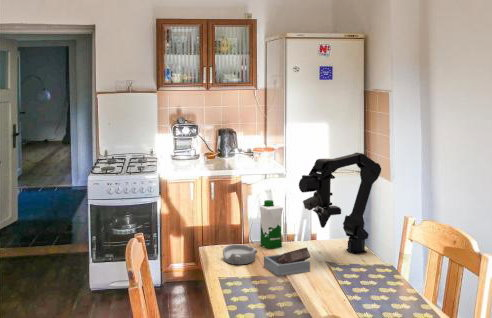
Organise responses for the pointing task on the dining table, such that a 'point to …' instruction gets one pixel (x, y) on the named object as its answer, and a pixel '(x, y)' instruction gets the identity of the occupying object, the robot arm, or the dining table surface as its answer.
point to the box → (294, 256)
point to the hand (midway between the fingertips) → (322, 227)
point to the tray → (285, 266)
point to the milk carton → (271, 225)
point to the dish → (239, 254)
